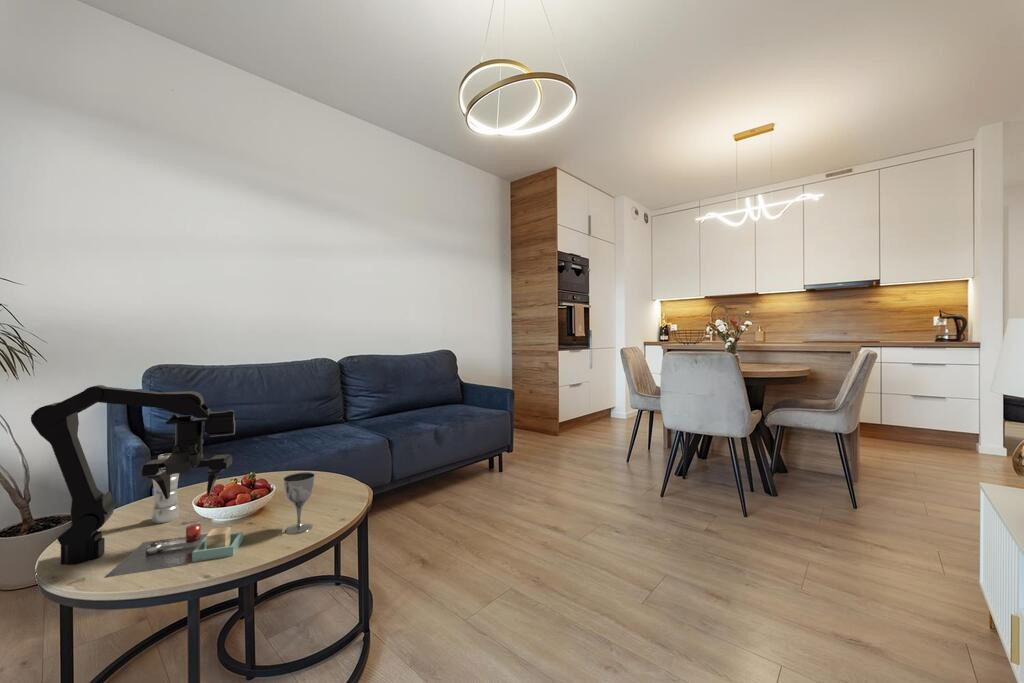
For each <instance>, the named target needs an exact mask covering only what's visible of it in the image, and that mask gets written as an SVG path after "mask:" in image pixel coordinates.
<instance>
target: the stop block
mask: <svg viewBox="0 0 1024 683" xmlns="http://www.w3.org/2000/svg"><path fill="white" fill-rule="evenodd" d="M230 533H231V526H226V527H218V528H211V529H210V531H209V532H208V533H207V534H208V535H207V536H206V549H212V548H219V547H226V546H231V543H230Z"/></svg>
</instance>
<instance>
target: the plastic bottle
mask: <svg viewBox="0 0 1024 683" xmlns="http://www.w3.org/2000/svg"><path fill="white" fill-rule="evenodd" d="M171 454H172V452H171V453H170V452H169V453H168V452H167V453H163V454H159V455H158V456H157V460H159V459H168V458H169V456H170V455H171ZM179 478H180V473H177V474H172V475H170V497H169V498H168V499H165V497H164V494H163V492H162V490H161V488H160V486H159V485H158V483H157V482H156V481H155V480H153V479H151V480H152V487H153V504H152V509H151V510H152V511H151V515H150V519H151V522H153V523H154V524H156V525H157V524H158V525H159V524H165V523H169V522H172V521H174V520H176V519H177V518H178V517H179V515H180V506H179V500H178V486H179V485H178V484H179V483H178V482H179Z"/></svg>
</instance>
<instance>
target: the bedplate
mask: <svg viewBox="0 0 1024 683" xmlns="http://www.w3.org/2000/svg"><path fill="white" fill-rule="evenodd" d="M208 534H209V533H204V534H203V533H202V534H201V538H200V540H198V541H196V543H195V544H194V545H188V546H181V547H175V548H168V549H162V550H161V551H160V552H157V553H154V554H146V546H148V545H150V544H151V543H153V542H161V543H166V542H173V541H180V540H186V536H182V537H173V538H165V539H159V540H158V539H157V540H151V541H150V540H149V541H144V542H142V543H141V544H140V545H139V546H137V547H136V548H135V549H134V550H133V551H132V552H131V553H130V554H128V555H127V556H126V557H125V558H124V559H123V560H121V562H119V563H118V565H116V566H115V567H114V568H113V569H111V571H110V572H109V573H107V574H106V575H105V576H104V578H111V577H116V576H118V577H119V576H124V575H131V574H132V575H133V574H137V573H142V572H143V573H144V572H145V573H146V572H150V571H157V570H164V569H170V568H176V567H182V566H183V567H185V566H188V565H189V564H190V562H192V552H193V551H194V550H195V549H196V547H197V546H198V545H199V544H200V542H201V541H202V540H203V539H204V538H205V537H206V536H207V535H208Z"/></svg>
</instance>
